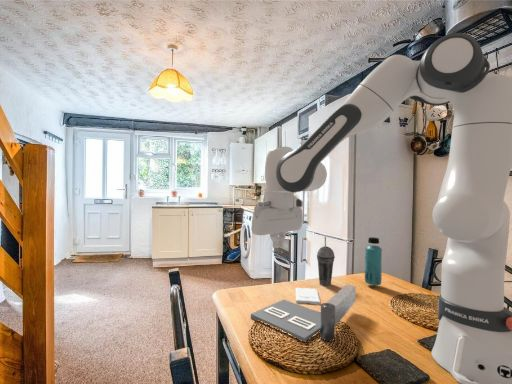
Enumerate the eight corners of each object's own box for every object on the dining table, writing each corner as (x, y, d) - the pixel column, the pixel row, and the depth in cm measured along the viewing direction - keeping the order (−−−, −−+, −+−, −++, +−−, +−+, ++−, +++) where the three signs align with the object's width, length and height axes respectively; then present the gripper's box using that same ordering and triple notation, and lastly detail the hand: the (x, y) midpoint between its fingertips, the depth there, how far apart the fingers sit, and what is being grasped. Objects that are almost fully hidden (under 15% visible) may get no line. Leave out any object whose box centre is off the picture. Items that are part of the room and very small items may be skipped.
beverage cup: (336, 283, 115) (337, 235, 115) (331, 288, 109) (332, 238, 109) (319, 280, 119) (320, 234, 119) (313, 284, 113) (314, 236, 113)
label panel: (335, 321, 81) (335, 316, 81) (304, 342, 69) (304, 336, 69) (283, 302, 94) (283, 298, 94) (250, 317, 82) (250, 312, 82)
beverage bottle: (382, 285, 113) (383, 237, 113) (380, 290, 108) (381, 239, 108) (365, 282, 117) (366, 235, 117) (362, 287, 111) (363, 237, 111)
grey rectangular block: (331, 342, 69) (332, 310, 69) (318, 338, 71) (318, 306, 71) (356, 310, 88) (356, 285, 88) (344, 307, 90) (345, 282, 90)
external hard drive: (317, 293, 105) (320, 306, 93) (295, 291, 106) (295, 304, 94) (317, 288, 105) (320, 301, 93) (295, 287, 106) (295, 299, 94)
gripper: (263, 202, 73) (262, 254, 73) (306, 201, 88) (305, 244, 88) (246, 201, 78) (245, 250, 78) (290, 200, 92) (289, 241, 92)
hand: (277, 247), depth 83 cm, fingers closed
